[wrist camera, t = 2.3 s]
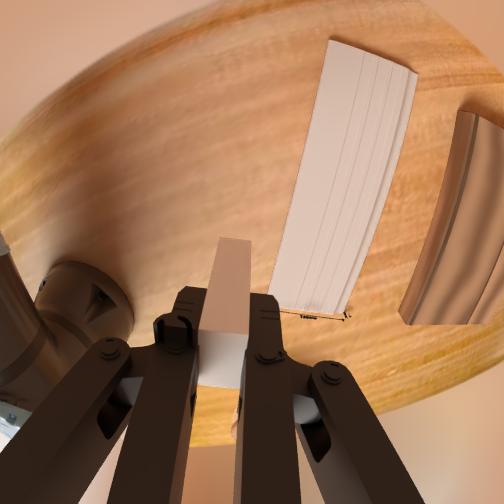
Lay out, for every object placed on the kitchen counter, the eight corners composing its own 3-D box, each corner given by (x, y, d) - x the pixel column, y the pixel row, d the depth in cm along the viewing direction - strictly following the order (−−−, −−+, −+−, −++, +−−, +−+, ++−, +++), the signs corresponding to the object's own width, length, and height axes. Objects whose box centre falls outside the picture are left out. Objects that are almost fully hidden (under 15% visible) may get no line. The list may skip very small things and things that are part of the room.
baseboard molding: (424, 80, 26) (325, 42, 25) (437, 79, 23) (332, 36, 22) (350, 311, 40) (263, 298, 39) (355, 324, 37) (264, 312, 36)
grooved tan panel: (398, 311, 39) (406, 325, 36) (457, 110, 27) (473, 112, 24) (480, 313, 40) (489, 324, 37) (537, 154, 27) (551, 159, 25)
